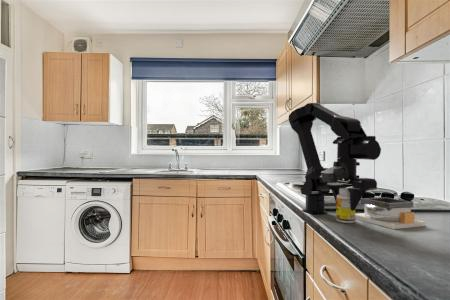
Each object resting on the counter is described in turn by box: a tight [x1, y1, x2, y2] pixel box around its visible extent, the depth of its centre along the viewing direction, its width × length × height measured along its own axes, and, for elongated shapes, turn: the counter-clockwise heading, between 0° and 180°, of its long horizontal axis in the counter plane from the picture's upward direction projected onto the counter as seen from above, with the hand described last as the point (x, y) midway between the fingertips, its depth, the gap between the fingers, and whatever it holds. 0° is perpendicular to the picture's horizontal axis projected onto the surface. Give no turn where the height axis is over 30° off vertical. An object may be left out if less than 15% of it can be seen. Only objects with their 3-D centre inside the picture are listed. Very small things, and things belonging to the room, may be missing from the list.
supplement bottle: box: [335, 187, 356, 224], centre depth 99 cm, size 6×6×10 cm
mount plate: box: [355, 212, 426, 230], centre depth 101 cm, size 16×13×1 cm
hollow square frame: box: [361, 196, 415, 224], centre depth 100 cm, size 14×13×6 cm
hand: (345, 208), depth 99 cm, fingers closed on supplement bottle, 6 cm apart
